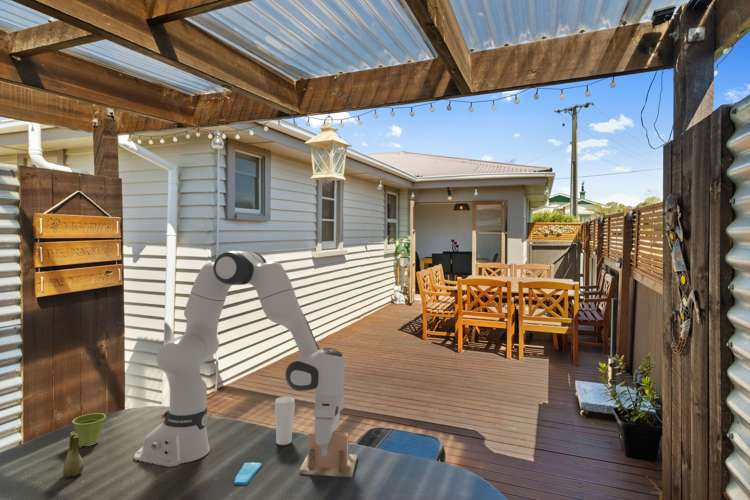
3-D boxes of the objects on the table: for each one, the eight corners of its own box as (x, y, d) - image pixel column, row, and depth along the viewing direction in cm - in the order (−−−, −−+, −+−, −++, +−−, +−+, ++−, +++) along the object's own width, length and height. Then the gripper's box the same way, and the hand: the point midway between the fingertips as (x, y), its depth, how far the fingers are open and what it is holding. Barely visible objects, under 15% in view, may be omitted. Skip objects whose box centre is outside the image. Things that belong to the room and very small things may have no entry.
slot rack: (299, 473, 124) (300, 449, 124) (309, 455, 136) (309, 433, 136) (352, 477, 123) (352, 452, 123) (357, 458, 135) (357, 435, 135)
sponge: (226, 482, 118) (246, 481, 117) (244, 461, 129) (262, 460, 129) (227, 487, 117) (247, 486, 117) (245, 466, 129) (262, 465, 129)
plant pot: (110, 442, 142) (111, 417, 142) (79, 452, 134) (80, 426, 134) (97, 435, 147) (98, 411, 147) (66, 445, 139) (67, 419, 139)
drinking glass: (289, 447, 141) (290, 403, 141) (270, 445, 142) (271, 401, 143) (296, 439, 148) (297, 397, 148) (279, 437, 149) (280, 395, 149)
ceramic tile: (307, 466, 126) (308, 433, 126) (309, 462, 128) (310, 430, 129) (346, 469, 125) (347, 436, 125) (347, 465, 127) (348, 432, 128)
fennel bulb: (66, 471, 123) (68, 430, 123) (86, 468, 124) (88, 428, 125) (59, 481, 117) (61, 438, 117) (80, 478, 119) (82, 436, 119)
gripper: (326, 390, 138) (325, 432, 138) (311, 413, 118) (310, 462, 117) (344, 391, 137) (343, 433, 137) (333, 414, 117) (332, 464, 117)
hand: (328, 447), depth 127 cm, fingers open, 8 cm apart
